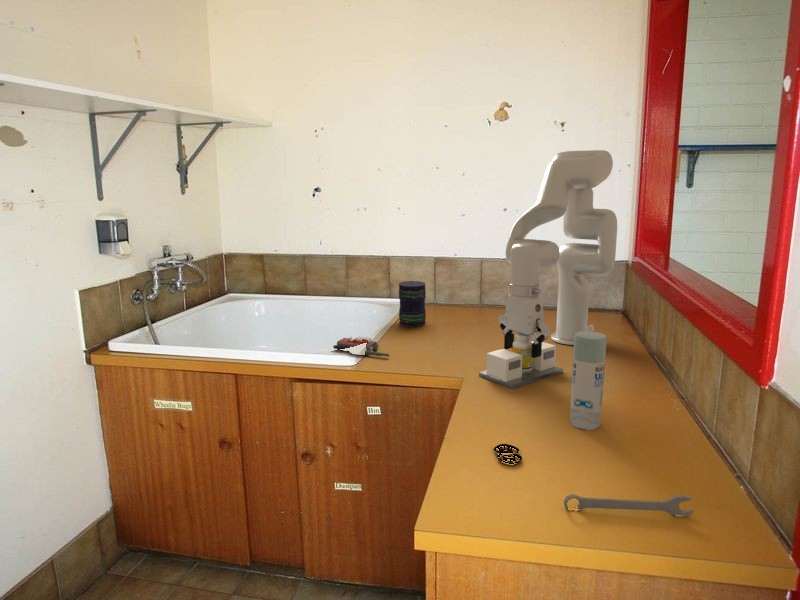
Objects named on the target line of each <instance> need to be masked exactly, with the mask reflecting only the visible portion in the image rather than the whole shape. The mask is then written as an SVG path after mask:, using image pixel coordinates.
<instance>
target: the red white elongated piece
mask: <svg viewBox="0 0 800 600" xmlns="http://www.w3.org/2000/svg"><path fill="white" fill-rule="evenodd" d="M363 343H367V344H366V349H365V350H366V351H365V354H366V356H370V355H371V356H374V357H375V356H376V357H382V356H383V357H390V353H386V352H385V353H383V352H377V351H378V350H379V344H378V342H377V341H375V340H374V341H373V340H372V339H371V338H370V337H364V336H357V337H355V338H353V336H349V337H343V338H341V339H339V340H337V341H336V344H335V345H333V346H332V347H333V349H334V350H337V351H338V350H340V349H345V348H350V347H354V346H357V345H360V344H363ZM374 350H375V351H374ZM376 350H377V351H376ZM372 351H373V352H372Z"/></svg>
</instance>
